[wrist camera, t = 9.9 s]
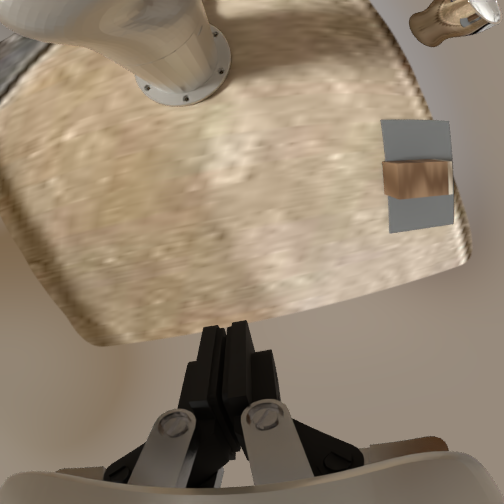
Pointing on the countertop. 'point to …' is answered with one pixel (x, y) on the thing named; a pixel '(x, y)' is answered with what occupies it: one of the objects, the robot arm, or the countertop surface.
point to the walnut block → (417, 178)
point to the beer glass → (454, 19)
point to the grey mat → (417, 148)
